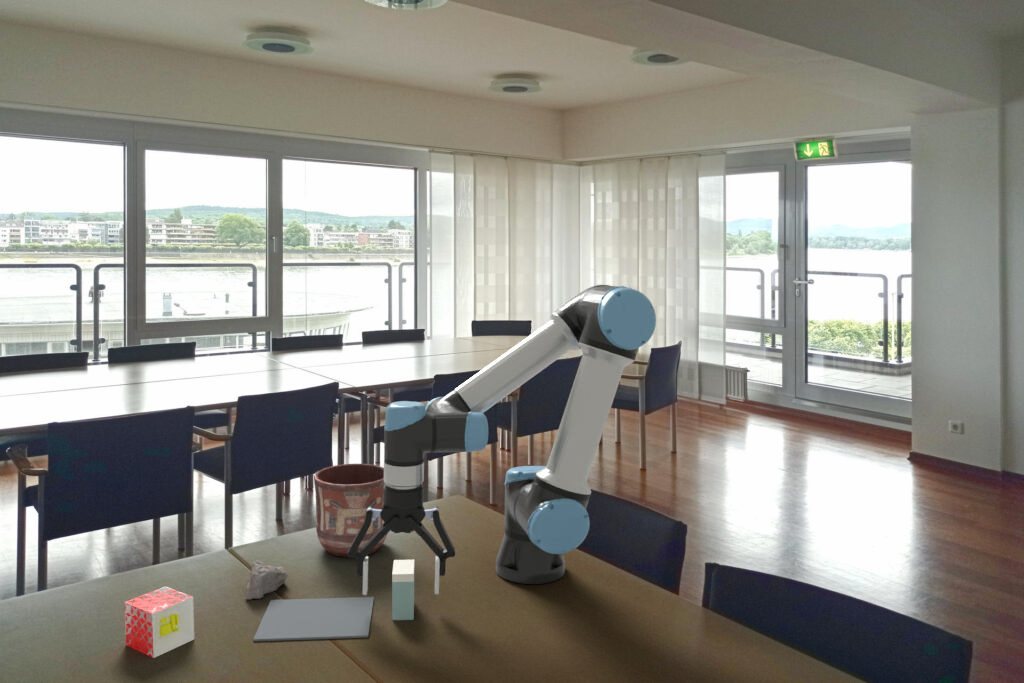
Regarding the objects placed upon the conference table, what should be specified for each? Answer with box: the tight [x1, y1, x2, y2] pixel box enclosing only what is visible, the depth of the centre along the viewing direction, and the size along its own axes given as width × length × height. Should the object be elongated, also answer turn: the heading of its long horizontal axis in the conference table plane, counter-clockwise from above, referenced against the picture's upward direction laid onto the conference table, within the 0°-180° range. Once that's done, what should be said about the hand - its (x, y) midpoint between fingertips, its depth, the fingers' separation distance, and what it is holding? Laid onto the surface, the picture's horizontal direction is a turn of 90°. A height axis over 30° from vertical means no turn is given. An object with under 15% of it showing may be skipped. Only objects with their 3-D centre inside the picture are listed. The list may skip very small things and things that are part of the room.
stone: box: [244, 559, 289, 600], centre depth 160 cm, size 10×8×6 cm
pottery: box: [313, 463, 389, 558], centre depth 183 cm, size 18×18×18 cm
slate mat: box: [252, 596, 375, 642], centre depth 148 cm, size 20×16×1 cm
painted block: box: [391, 559, 415, 621], centre depth 152 cm, size 4×7×9 cm, turn 6°
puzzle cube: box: [124, 586, 195, 659], centre depth 138 cm, size 8×8×8 cm
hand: (401, 591), depth 152 cm, fingers open, 13 cm apart
